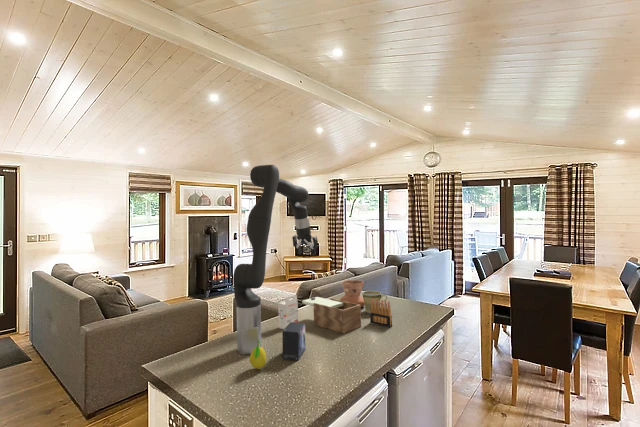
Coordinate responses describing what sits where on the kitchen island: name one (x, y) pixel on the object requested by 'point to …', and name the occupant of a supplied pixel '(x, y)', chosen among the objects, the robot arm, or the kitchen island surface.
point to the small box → (293, 341)
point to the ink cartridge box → (288, 311)
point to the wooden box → (338, 316)
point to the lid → (322, 302)
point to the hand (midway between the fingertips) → (307, 254)
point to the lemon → (258, 357)
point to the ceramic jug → (353, 291)
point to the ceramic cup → (368, 297)
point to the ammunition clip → (380, 313)
